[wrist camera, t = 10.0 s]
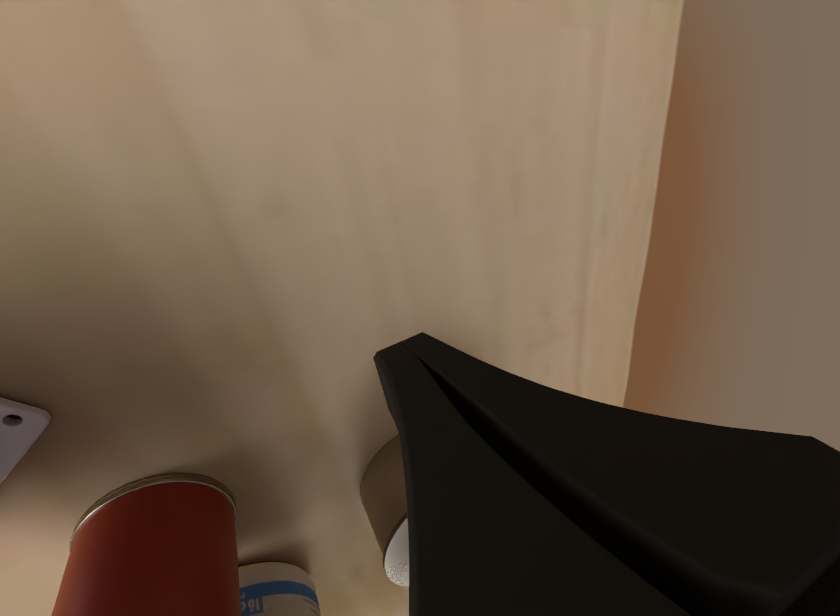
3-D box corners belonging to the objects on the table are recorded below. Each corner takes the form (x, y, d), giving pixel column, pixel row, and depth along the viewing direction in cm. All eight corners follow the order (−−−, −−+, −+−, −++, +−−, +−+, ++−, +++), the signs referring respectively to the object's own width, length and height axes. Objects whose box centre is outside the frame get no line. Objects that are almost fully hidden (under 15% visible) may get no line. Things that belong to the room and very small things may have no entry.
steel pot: (326, 503, 24) (353, 590, 20) (429, 393, 24) (477, 457, 20) (416, 530, 30) (451, 601, 26) (499, 441, 30) (549, 499, 25)
